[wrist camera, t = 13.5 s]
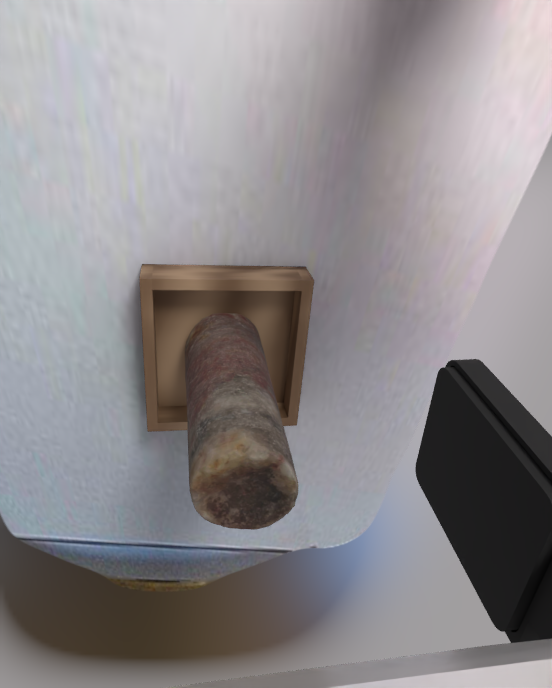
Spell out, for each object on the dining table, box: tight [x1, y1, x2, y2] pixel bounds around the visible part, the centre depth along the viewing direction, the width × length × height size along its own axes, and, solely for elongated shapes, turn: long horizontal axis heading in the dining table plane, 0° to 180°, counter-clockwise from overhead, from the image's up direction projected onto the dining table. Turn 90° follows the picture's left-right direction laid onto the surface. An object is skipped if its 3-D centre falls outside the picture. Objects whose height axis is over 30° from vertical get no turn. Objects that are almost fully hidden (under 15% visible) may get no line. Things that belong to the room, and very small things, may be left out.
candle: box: [185, 313, 298, 529], centre depth 41 cm, size 8×7×20 cm
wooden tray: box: [140, 264, 314, 432], centre depth 49 cm, size 15×16×4 cm
